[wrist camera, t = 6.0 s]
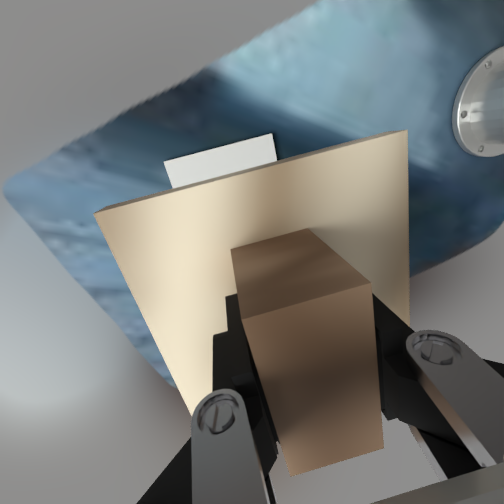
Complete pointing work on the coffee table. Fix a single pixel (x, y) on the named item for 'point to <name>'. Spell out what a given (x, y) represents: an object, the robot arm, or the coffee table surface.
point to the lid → (280, 283)
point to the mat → (221, 161)
